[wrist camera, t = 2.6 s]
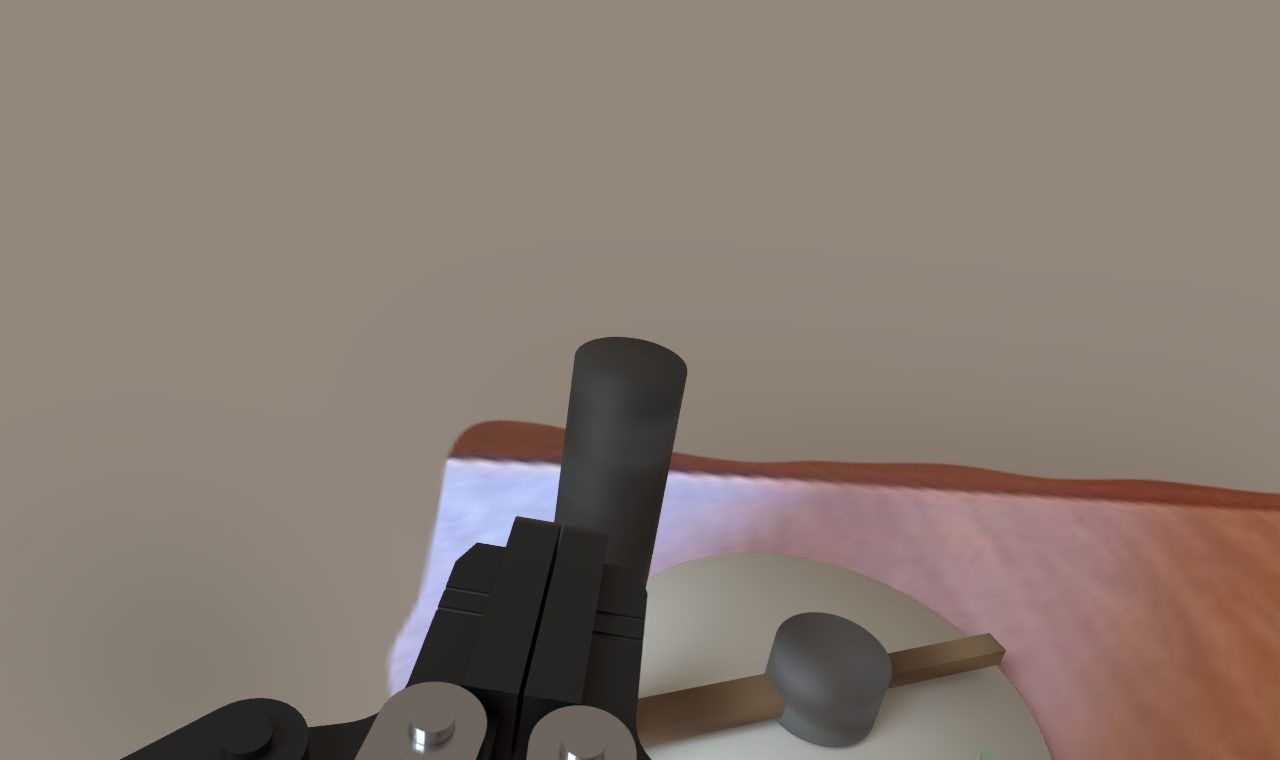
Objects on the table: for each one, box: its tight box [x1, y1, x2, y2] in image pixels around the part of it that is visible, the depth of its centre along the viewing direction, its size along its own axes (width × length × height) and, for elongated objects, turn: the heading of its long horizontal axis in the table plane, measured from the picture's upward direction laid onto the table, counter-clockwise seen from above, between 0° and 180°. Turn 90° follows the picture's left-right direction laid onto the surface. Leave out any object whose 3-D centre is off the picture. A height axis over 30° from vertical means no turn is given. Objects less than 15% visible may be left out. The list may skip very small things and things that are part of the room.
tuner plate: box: [638, 553, 1051, 760], centre depth 35 cm, size 18×18×1 cm
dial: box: [554, 337, 1006, 747], centre depth 31 cm, size 20×4×15 cm, turn 111°
